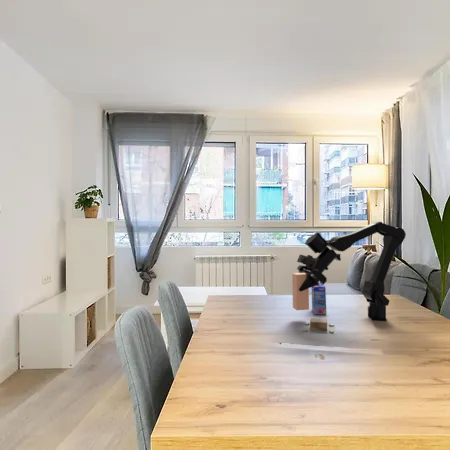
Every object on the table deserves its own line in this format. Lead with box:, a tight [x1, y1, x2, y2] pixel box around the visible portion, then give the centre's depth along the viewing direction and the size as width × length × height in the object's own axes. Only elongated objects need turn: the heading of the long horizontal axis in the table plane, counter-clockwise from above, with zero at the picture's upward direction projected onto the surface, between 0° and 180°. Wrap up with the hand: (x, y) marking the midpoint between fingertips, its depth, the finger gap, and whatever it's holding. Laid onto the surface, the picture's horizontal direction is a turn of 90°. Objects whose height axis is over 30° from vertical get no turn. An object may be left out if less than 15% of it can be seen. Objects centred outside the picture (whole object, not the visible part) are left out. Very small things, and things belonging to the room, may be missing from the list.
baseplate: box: [300, 322, 337, 335], centre depth 146 cm, size 12×12×2 cm
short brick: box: [309, 317, 328, 331], centre depth 146 cm, size 6×6×3 cm
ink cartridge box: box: [311, 282, 327, 315], centre depth 177 cm, size 10×6×14 cm, turn 174°
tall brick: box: [291, 272, 310, 311], centre depth 159 cm, size 5×5×14 cm
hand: (297, 289), depth 159 cm, fingers closed on tall brick, 5 cm apart
